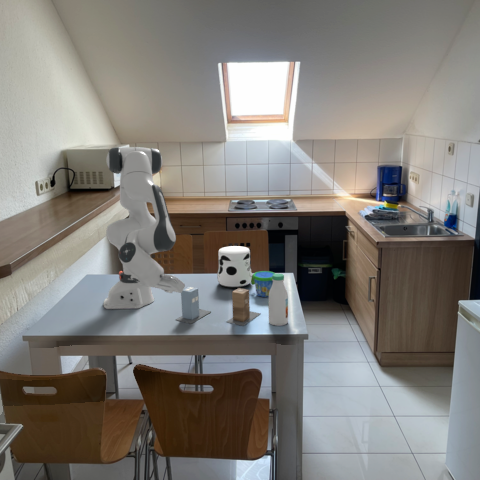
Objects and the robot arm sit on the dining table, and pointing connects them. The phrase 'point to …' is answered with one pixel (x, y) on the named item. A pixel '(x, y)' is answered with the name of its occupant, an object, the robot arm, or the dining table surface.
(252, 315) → the grey rectangular plate
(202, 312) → the grey flat block
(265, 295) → the snack cup
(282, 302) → the milk bottle
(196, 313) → the rectangular block
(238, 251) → the milk container
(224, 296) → the dining table surface
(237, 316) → the wooden box
